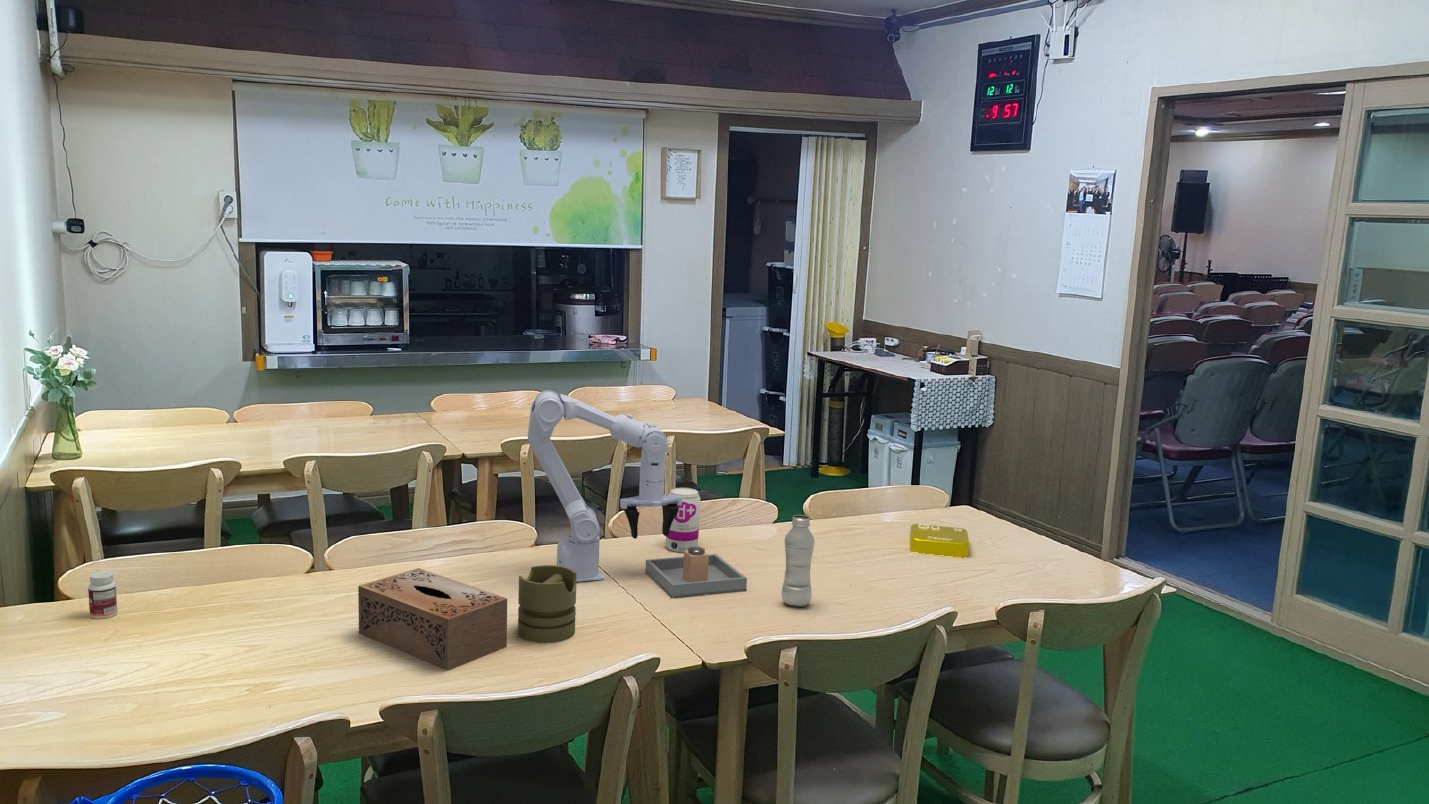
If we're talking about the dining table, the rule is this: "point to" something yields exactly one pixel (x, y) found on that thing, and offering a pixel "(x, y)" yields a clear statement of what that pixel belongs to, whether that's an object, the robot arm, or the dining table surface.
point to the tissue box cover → (433, 617)
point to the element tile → (939, 540)
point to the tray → (676, 586)
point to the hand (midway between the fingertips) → (649, 536)
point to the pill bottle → (102, 595)
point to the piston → (547, 604)
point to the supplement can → (685, 521)
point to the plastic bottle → (798, 563)
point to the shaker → (695, 564)
